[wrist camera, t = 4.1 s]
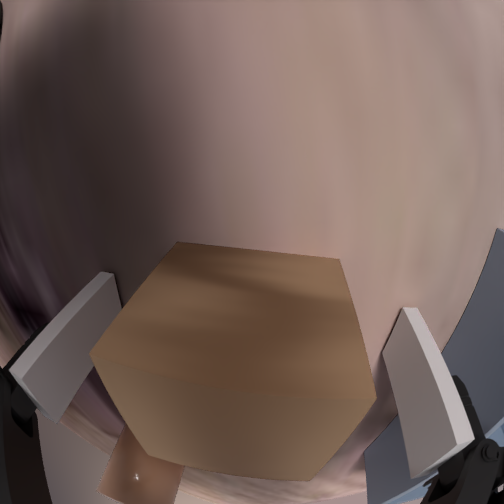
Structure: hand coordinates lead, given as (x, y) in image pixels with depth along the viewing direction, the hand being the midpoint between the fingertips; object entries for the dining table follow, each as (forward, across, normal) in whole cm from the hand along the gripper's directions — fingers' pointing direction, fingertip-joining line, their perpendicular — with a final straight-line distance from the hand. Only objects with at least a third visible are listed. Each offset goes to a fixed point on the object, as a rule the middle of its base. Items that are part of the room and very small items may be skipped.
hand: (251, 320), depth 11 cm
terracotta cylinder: (0, -6, -12) cm, 13 cm away
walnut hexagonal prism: (0, 0, 0) cm, 0 cm away
